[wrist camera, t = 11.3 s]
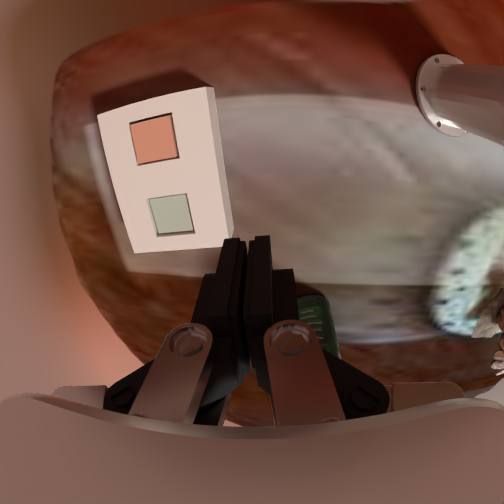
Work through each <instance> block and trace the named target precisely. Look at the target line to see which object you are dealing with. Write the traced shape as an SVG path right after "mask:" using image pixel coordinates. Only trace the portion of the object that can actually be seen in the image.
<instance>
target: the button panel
mask: <svg viewBox="0 0 504 504" xmlns="http://www.w3.org/2000/svg"><path fill="white" fill-rule="evenodd" d="M171 114H172V117H173V123H174V129H175V134H176V140H177V146H178V151H179V155H178V156H177V157H172V158H167V159H161V160H156V161H151V162H146V163H141V164H138V160H137V156H136V151H135V147H134V142H133V137H132V132H131V127H130V125H131V124H135V123H138V122H141V121H145V120H149V119H153V118H157V117H161V116H166V115H171ZM97 117H98V122H99V127H100V132H101V137H102V142H103V146H104V151H105V155H106V159H107V163H108V167H109V171H110V175H111V179H112V182H113V186H114V190H115V193H116V197H117V200H118V204H119V207H120V210H121V214H122V217H123V220H124V223H125V226H126V229H127V232H128V235H129V238H130V241H131V244H132V247H133V250H134V253H144V252H157V251H170V250H183V249H197V248H211V247H222V246H223V242H224V239H226V238H232V234H233V229H234V226H233V220H232V213H231V207H230V200H229V193H228V186H227V180H226V173H225V166H224V159H223V152H222V145H221V138H220V130H219V123H218V116H217V108H216V101H215V94H214V88H212V87H202V88H196V89H191V90H186V91H181V92H176V93H172V94H167V95H163V96H159V97H155V98H151V99H147V100H144V101H140V102H136V103H133V104H130V105H126V106H123V107H120V108H117V109H114V110H111V111H108V112H105V113H102V114H99V115H97ZM185 193H187V197H188V202H189V207H190V211H191V216H192V220H193V225H194V230H191V231H180V232H170V233H160V234H159V233H158V229H157V226H156V222H155V218H154V215H153V211H152V207H151V204H150V200H149V199H150V198H155V197H162V196H169V195H177V194H185Z"/></svg>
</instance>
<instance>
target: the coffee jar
mask: <svg viewBox="0 0 504 504" xmlns="http://www.w3.org/2000/svg"><path fill="white" fill-rule="evenodd" d="M297 304H298V312H299V321H302V322H304V323H307V324H308V325H309V326H311V327H312V328H313V329H314V331H315V333H316V335H317V338H318V340H319V343H320V346H321V348H323V349H324V350H326V351H328V352H329V353H331V354H333V355H334V356H336V357H338V358H339V359H341V356H340V351H339V346H338V342H337V337H336V333H335V328H334V323H333V318H332V313H331V309H330V305H329V302H328V300H327V299H326V298H325V297H323V296H320V295H306V296H302V297H299V298H297Z"/></svg>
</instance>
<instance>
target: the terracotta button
mask: <svg viewBox="0 0 504 504" xmlns="http://www.w3.org/2000/svg"><path fill="white" fill-rule="evenodd" d="M130 127H131V132H132V137H133V142H134V147H135V151H136V156H137V160H138V164H141V163H146V162H151V161H156V160H161V159H167V158H172V157H177V156H178V155H179V151H178V146H177V140H176V134H175V129H174V123H173V117H172V114H171V115H166V116H161V117H157V118H153V119H149V120H145V121H141V122H138V123H135V124H131V125H130Z"/></svg>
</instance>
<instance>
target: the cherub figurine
mask: <svg viewBox="0 0 504 504" xmlns="http://www.w3.org/2000/svg"><path fill="white" fill-rule="evenodd" d="M499 328H500V329H501V330H502V331H503V332H504V289H501V290H500V291H499V293H498V294H497V296H496V297H495V298H494V299H493V300H492V301H491V302H490V303H489V304H488V305H487V306H486V307H485V308H484V309H483V311H482V313H481V315H480V318H479V320H478V322H477V323H476V327H475V329H474V331H473V334H472V335H473V337H472V338H474V337H492V336H493V335H494V334H495V333H496V332H497V330H498V329H499ZM499 348H500V350H498V351H496V352H495V353H494V354H493V358H494V359H495V360H494V361H492V362H491V364H490V366H491V368H493V369H497V370H496V371H495V374H496V375H500V374H502V373H504V333H503V334H502V335H501V340H500V341H499Z"/></svg>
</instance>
